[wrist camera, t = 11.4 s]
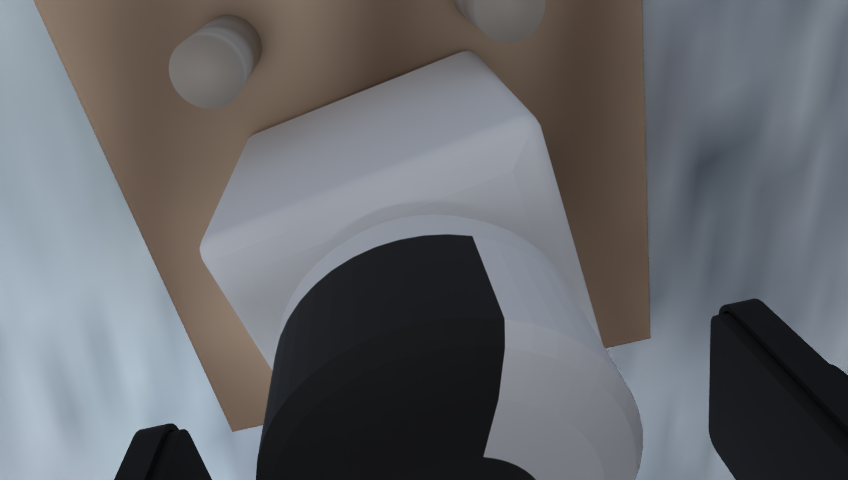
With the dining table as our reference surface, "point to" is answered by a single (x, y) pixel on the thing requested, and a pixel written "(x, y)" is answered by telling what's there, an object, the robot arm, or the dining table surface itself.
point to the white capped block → (419, 292)
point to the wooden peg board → (332, 81)
